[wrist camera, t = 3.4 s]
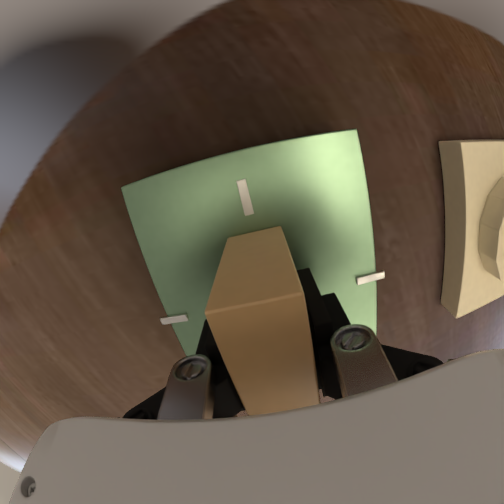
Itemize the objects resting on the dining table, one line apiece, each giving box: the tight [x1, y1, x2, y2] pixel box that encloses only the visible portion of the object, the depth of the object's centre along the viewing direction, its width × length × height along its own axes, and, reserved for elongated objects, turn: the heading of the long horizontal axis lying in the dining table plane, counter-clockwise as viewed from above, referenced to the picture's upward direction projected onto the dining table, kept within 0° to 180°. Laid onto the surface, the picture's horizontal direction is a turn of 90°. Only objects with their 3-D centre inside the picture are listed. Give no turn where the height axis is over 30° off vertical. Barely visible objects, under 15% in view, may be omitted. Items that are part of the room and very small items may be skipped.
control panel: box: [121, 128, 385, 356], centre depth 13 cm, size 13×11×3 cm
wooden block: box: [205, 226, 320, 416], centre depth 9 cm, size 6×2×6 cm, turn 14°
